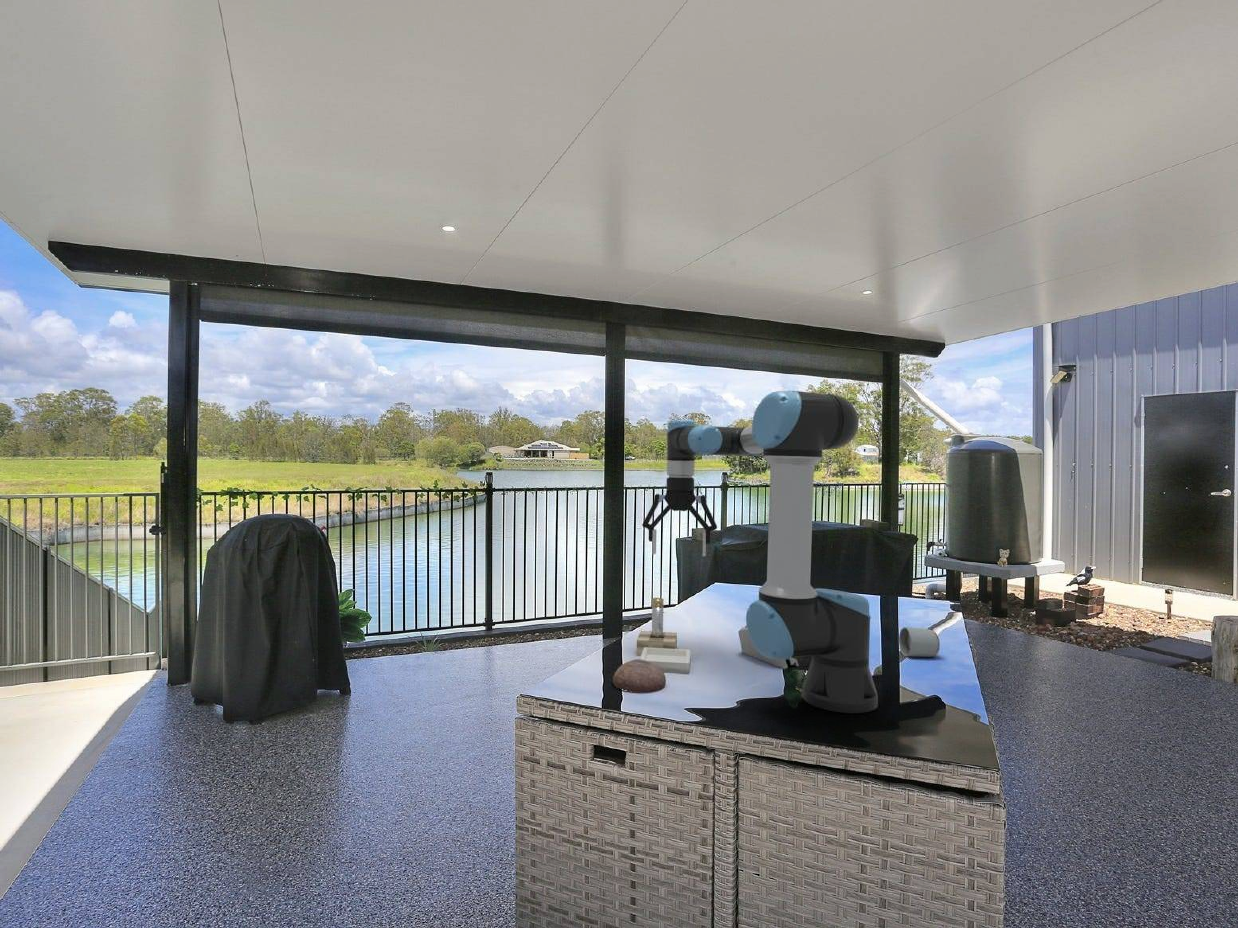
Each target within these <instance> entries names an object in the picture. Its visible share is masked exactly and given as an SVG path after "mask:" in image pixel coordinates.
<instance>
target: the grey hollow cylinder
mask: <svg viewBox="0 0 1238 928" xmlns="http://www.w3.org/2000/svg"><path fill="white" fill-rule="evenodd" d="M898 645H899V649H900V652H901V654H902V655H903V656H904V657H908V658H909V657H910V658H911V657H912V658H913V657H914V658H917V657H918V658H919V657H921V658H932V657H936V655H938V653H939V651H940V645H941V644H940V639H939V636H938V634H937V633H936V631H935V630H932V629H929V628H919V627H912V626H911V627H910V626H904V627H902V628H901V629H900V631H899V635H898Z"/></svg>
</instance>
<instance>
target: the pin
mask: <svg viewBox="0 0 1238 928" xmlns="http://www.w3.org/2000/svg"><path fill="white" fill-rule="evenodd" d="M651 601H652V602H651V606H652V607H651V608H652V609H651V632H652V638H663V632H664V598H661V597H652V599H651Z"/></svg>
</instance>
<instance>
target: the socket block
mask: <svg viewBox="0 0 1238 928" xmlns="http://www.w3.org/2000/svg"><path fill="white" fill-rule="evenodd" d="M677 641H678V632H671V631H669V632H667V631H663V638H652V630H651V631H646V630H640V631H639V634H638V637H637V639H636V656H639V657H641V654H642V651H643V649H644V647H648V648H667V649H678V648H677V646H678V645H677V644H678V643H677Z"/></svg>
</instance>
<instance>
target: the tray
mask: <svg viewBox="0 0 1238 928" xmlns="http://www.w3.org/2000/svg"><path fill="white" fill-rule="evenodd" d="M639 657H640V658H639V659H642V660H646V661H649V662H651V663H652V664H654V665H655V666H657V667H658V668H659V669H660V670H661V671H662V672H663V673H669V674H670V673H673V674H686V675H687V674H690V671H691V670H690V669H691V649H684V648H683V649H682V648H676V649H667V648H648V647H644V649H643V651H642V654H641V656H639Z"/></svg>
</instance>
